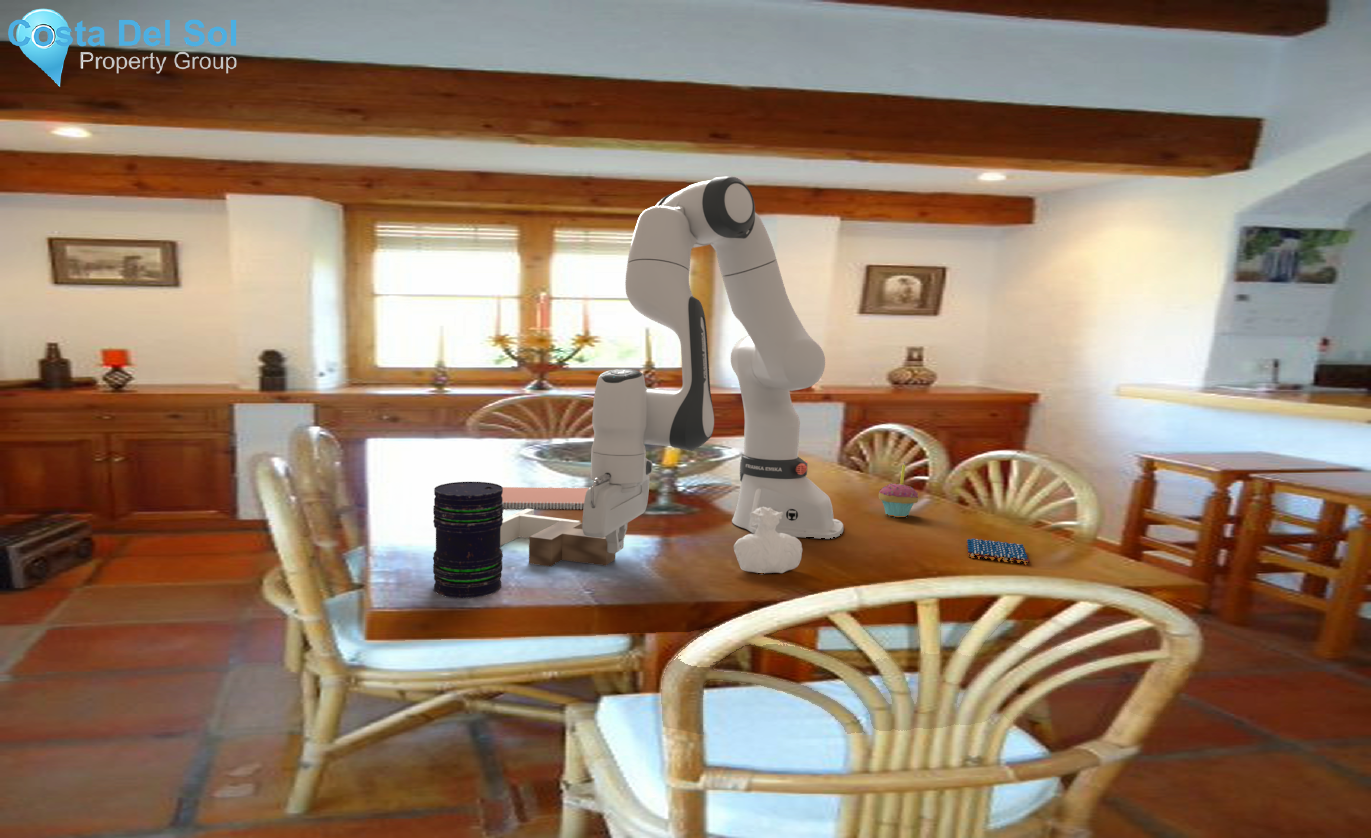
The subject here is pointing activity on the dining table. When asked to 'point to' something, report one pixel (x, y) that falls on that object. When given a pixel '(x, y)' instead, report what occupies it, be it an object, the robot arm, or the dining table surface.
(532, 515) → the corner fence
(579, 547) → the t block
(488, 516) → the rusty oil barrel
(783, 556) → the bust
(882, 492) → the cupcake
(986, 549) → the woven mat
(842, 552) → the dining table surface
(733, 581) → the dining table surface
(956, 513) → the dining table surface
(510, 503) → the notebook
